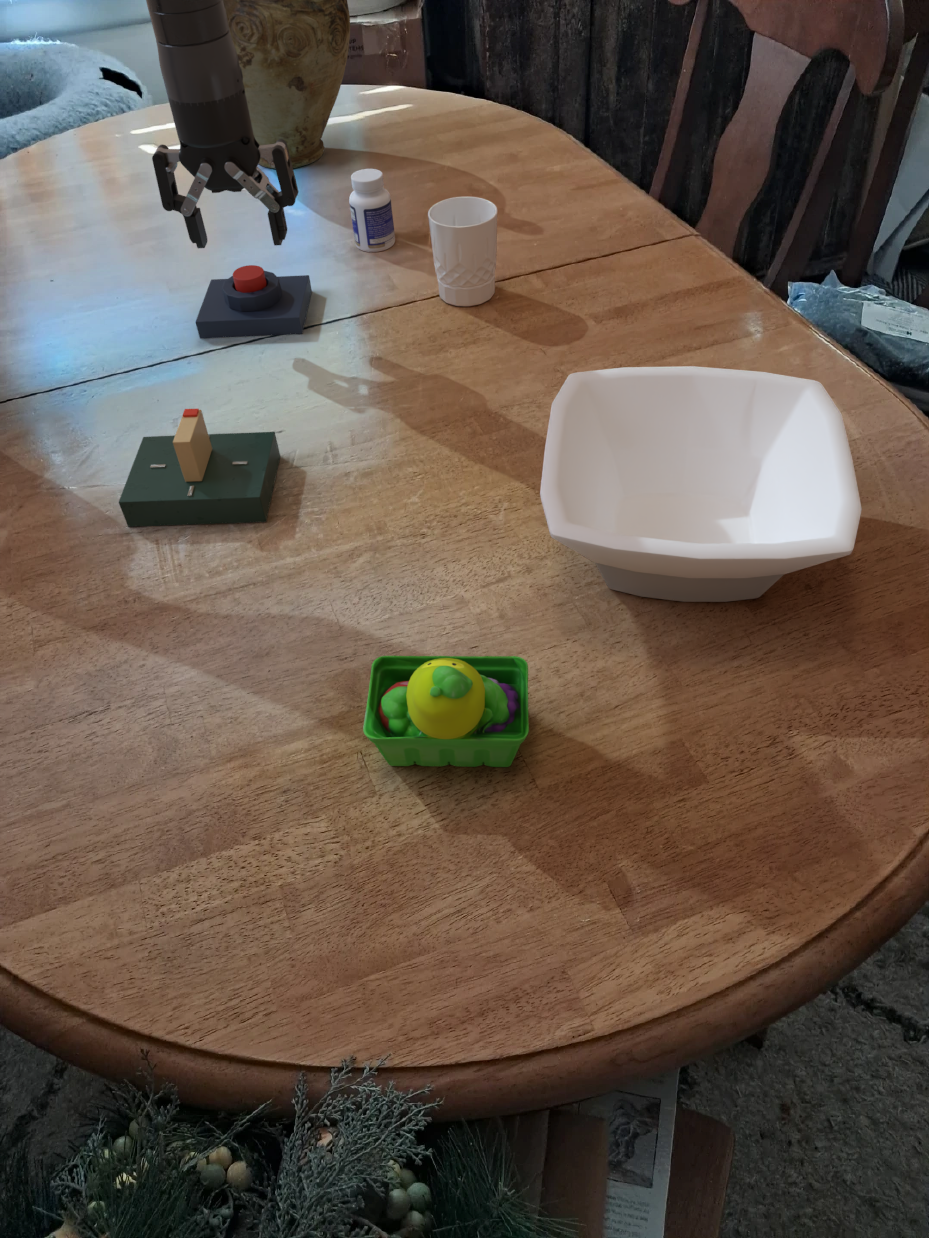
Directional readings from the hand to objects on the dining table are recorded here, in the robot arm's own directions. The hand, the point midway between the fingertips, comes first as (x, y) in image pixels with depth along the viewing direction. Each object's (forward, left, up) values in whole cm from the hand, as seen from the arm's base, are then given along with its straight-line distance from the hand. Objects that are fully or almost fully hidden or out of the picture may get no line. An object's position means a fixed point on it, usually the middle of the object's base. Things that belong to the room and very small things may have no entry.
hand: (241, 244), depth 109 cm
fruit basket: (+23, -62, -10) cm, 67 cm away
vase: (-3, +49, -10) cm, 51 cm away
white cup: (+24, +5, -10) cm, 27 cm away
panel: (-1, -31, -10) cm, 32 cm away
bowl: (+43, -41, -10) cm, 60 cm away
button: (-1, +2, -6) cm, 7 cm away
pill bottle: (+12, +19, -10) cm, 25 cm away
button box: (-1, +2, -10) cm, 10 cm away
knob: (-1, -31, -7) cm, 31 cm away
